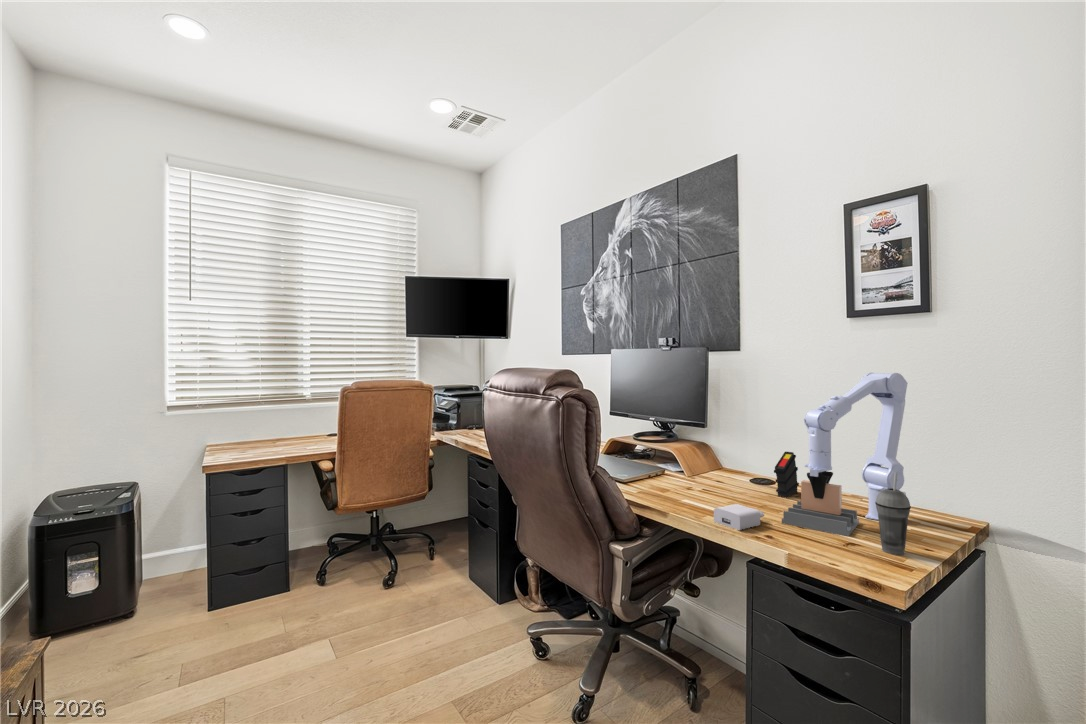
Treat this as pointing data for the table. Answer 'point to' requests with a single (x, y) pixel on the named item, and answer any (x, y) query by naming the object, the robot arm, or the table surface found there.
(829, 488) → the plate
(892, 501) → the beverage cup
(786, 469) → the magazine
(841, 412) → the robot arm
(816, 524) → the rack
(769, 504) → the table surface
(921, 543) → the table surface
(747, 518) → the charger
